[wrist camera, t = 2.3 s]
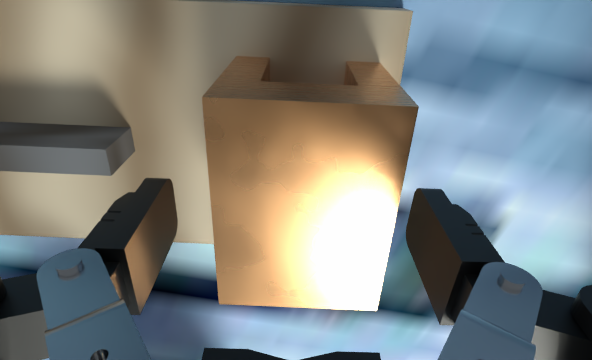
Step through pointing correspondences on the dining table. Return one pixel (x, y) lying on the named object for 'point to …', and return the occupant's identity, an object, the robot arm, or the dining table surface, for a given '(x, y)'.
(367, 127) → the cardboard box
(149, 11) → the board
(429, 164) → the dining table surface
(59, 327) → the robot arm
